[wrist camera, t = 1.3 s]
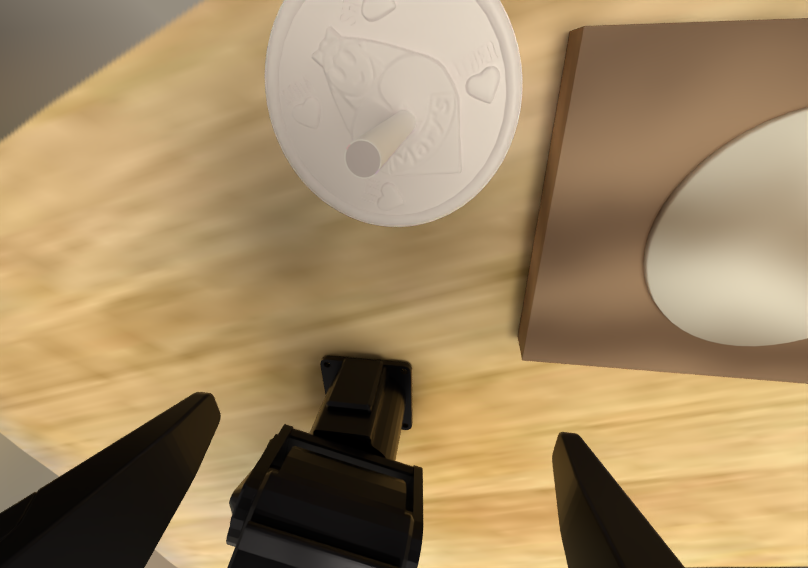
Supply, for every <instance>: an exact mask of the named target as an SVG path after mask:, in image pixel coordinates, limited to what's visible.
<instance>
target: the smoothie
mask: <svg viewBox="0 0 808 568" xmlns="http://www.w3.org/2000/svg"><path fill="white" fill-rule="evenodd" d="M265 91H266V99H267V106H268V111H269V116H270V119H271V123H272V126H273V130H274V132H275V135H276V138H277V140H278V143H279V145H280V147H281V149H282V151H283V153H284V155H285V157H286V158H287V160H288V162H289V164H290V165H291V167H292V168H293V169H294V171H295V172H296V174H297V175H298V176H299V178H300V179H301V180H302V181H303V182H304V184H305V185H306V186H307V187H308V188H309V189H310V190H311V191H312V192H313V193H314V194H315V195H317V196H318V197H319V198H320V199H321V200H323V201H324V202H325V203H327V204H328V205H329V206H331V207H332V208H334V209H336V210H337V211H339V212H341V213H343V214H345V215H347V216H349V217H351V218H354V219H356V220H359V221H362V222H365V223H369V224H373V225H378V226H387V227H407V226H415V225H421V224H425V223H428V222H432V221H435V220H437V219H440V218H442V217H445V216H447V215H448V214H450V213H452V212H454V211H456V210H457V209H459V208H461V207H462V206H464V205H465V204H466V203H467V202H469V201H470V200H471V199H473V198H474V197H475V196H476V195H477V194H478V193H479V192H480V191H481V190H482V189H483V188H484V187H485V186H486V184H487V183H488V182H489V181H490V180H491V178H492V177H493V176H494V174H495V173H496V172H497V170H498V168H499V167H500V165H501V163H502V162H503V160H504V158H505V156H506V154H507V152H508V150H509V148H510V145H511V142H512V140H513V137H514V134H515V131H516V127H517V124H518V119H519V114H520V109H521V100H522V68H521V59H520V54H519V48H518V44H517V40H516V37H515V33H514V30H513V27H512V25H511V22H510V20H509V17H508V15H507V13H506V11H505V9H504V7H503V5H502V3H501V1H500V0H284V1H283V3H282V5H281V7H280V9H279V11H278V14H277V16H276V18H275V21H274V24H273V27H272V30H271V34H270V38H269V42H268V47H267V54H266V62H265Z"/></svg>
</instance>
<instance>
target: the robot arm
mask: <svg viewBox="0 0 808 568" xmlns="http://www.w3.org/2000/svg"><path fill="white" fill-rule="evenodd" d="M327 362H328V363H330V364H328V363H327ZM320 365H321V371H322V376H323V382H324V388H325V394H326V396H325V399H324V401H323V403H322V406H321V408H320V410H319V412H318V415H317V417H316V419H315V422H314V424H313V426H312V429H311V431H310V433H306V432H303V431H300V430H297V429H293V427H292V426H289V425H286V424H284V426H283V427H282V429H281V431H280V432H279V434H278V435H277V434H276V435H275V436H274V438H273V439H271V440H270V442H269V443H268V445H267V447H266V449H265V451H264V453H263V455H262V456H261V458H260V459H259V461H258V462H257V464H256V465H255V467H254V469H253V470H252V471H251V472H250V473H249V474H248V475H247V477H246V478H245V479H244V480H243V481H242V482H241V484H240V485H239V486H238V487H237V488H236V489H235V491H234V492H233V494H232V496H231V498H230V501H229V504H230V508H231V511H232V517H231V521H230V527H229V531H228V534H227V540H226V543H227V544H228V545H231V546H234V547H235V549H234V552H233V555H232V557H231V560H230V562H229V565H228V568H417V567H418V562H419V557H420V552H421V545H422V537H423V469H422V468H421V467H418V466H415V465H414V466H410V465H407V464H403V463H400V462H397V461H395V460H396V455H397V449H398V444H399V438H400V433H401V430H409V429H411V427H412V367H411V365H410V364H408V363H405V362H395V361H384V360H372V359H360V358H349V357H337V356H324V357H323V358H322V360H321V363H320ZM402 369H406V370H402ZM220 417H221V415H220V411H219V408H218V406H217V403H216V401H215V398H214V396H213V395H212V394H211V393H205V392H196V393H194V394H192V395H190V396H189V397H187V398H186V399H184V400H182V401H181V402H179V403H177V404H176V405H174V406H173V407H171V408H169V409H168V410H166V411H165V412H163V413H161V414H160V415H158V416H156V417H155V418H153V419H152V420H150V421H148V422H147V423H145V424H144V425H142V426H140V427H139V428H137V429H136V430H134V431H132V432H131V433H129V434H127V435H126V436H124V437H123V438H121V439H119V440H118V441H116V442H115V443H113V444H111V445H110V446H108V447H106V448H105V449H103V450H102V451H100V452H98V453H97V454H95V455H94V456H92V457H90V458H89V459H87V460H86V461H84V462H82V463H81V464H79V465H77V466H76V467H74V468H73V469H71V470H69V471H68V472H66V473H65V474H63V475H61V476H60V477H58V478H57V479H55V480H53V481H52V482H50V483H48V484H47V485H45V486H44V487H42V488H40V489H39V490H38V491H37V492H34V493H32V494H31V495H29V496H27V497H26V498H24V499H23V500H21V501H19V502H18V503H16V504H14V505H13V506H11V507H9V508H8V509H6V510H4V511H3V512H1V513H0V568H144V567H145V566H146V564H147V562H148V560H149V558H150V557H151V555H152V553H153V551H154V549H155V548H156V546H157V544H158V542H159V541H160V539H161V537H162V535H163V533H164V532H165V530H166V528H167V526H168V525H169V523H170V521H171V519H172V517H173V516H174V514H175V512H176V510H177V508H178V507H179V505H180V503H181V501H182V500H183V498H184V496H185V494H186V492H187V491H188V489H189V487H190V485H191V483H192V481H193V480H194V478H195V476H196V474H197V471H198V469H199V467H200V465H201V463H202V460H203V458H204V456H205V454H206V451H207V449H208V447H209V445H210V442H211V440H212V438H213V436H214V433H215V431H216V429H217V427H218V424H219V422H220ZM552 463H553V472H554V481H555V490H556V499H557V508H558V517H559V525H560V532H561V537H562V542H563V547H564V551H565V556H566V560H567V565H568V568H685V567H684V566H683V565H682V563H681V562H680V561H679V560H678V558H677V557H676V556H675V555H674V553H673V552H672V551H671V550H670V548H669V547H668V546H667V545H666V543H665V542H664V541H663V539H662V538H661V537H660V536H659V534H658V533H657V532H656V531H655V529H654V528H653V527H652V526H651V524H650V523H649V522H648V521H647V519H646V518H645V517H644V516H643V514H642V513H641V512H640V511H639V509H638V508H637V507H636V506H635V504H634V503H633V502H632V501H631V499H630V498H629V497H628V496H627V494H626V493H625V492H624V491H623V489H622V488H621V487H620V486H619V484H618V483H617V482H616V481H615V479H614V478H613V477H612V476H611V474H610V473H609V472H608V471H607V469H606V468H605V467H604V466H603V464H602V463H601V462H600V461H599V459H598V458H597V457H596V456H595V454H594V453H593V452H592V451H591V449H590V448H589V447H588V446H587V444H586V443H585V442H584V441H583V439H582V438H581V437H580V436H579V435H578V434H575V433H567V432H560V433H559V435H558V437H557V441H556V444H555V447H554V451H553V455H552Z"/></svg>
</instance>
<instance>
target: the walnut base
mask: <svg viewBox="0 0 808 568" xmlns="http://www.w3.org/2000/svg"><path fill="white" fill-rule="evenodd" d="M518 341H519V346H520V351H521V356H522V360H524V361H536V362H548V363H561V364H573V365H585V366H597V367H610V368H622V369H634V370H646V371H659V372H671V373H683V374H695V375H708V376H720V377H732V378H744V379H757V380H769V381H781V382H793V383H806V384H808V18H801V19H773V20H745V21H716V22H688V23H660V24H631V25H603V26H583V27H581V28H578V29H575V30H572V31H570V34H569V40H568V45H567V51H566V57H565V63H564V69H563V75H562V81H561V86H560V92H559V98H558V104H557V110H556V116H555V122H554V127H553V133H552V139H551V145H550V151H549V157H548V163H547V169H546V174H545V180H544V186H543V192H542V198H541V204H540V210H539V215H538V221H537V227H536V233H535V239H534V245H533V251H532V256H531V262H530V268H529V274H528V280H527V286H526V292H525V298H524V303H523V309H522V315H521V321H520V327H519V333H518Z"/></svg>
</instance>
